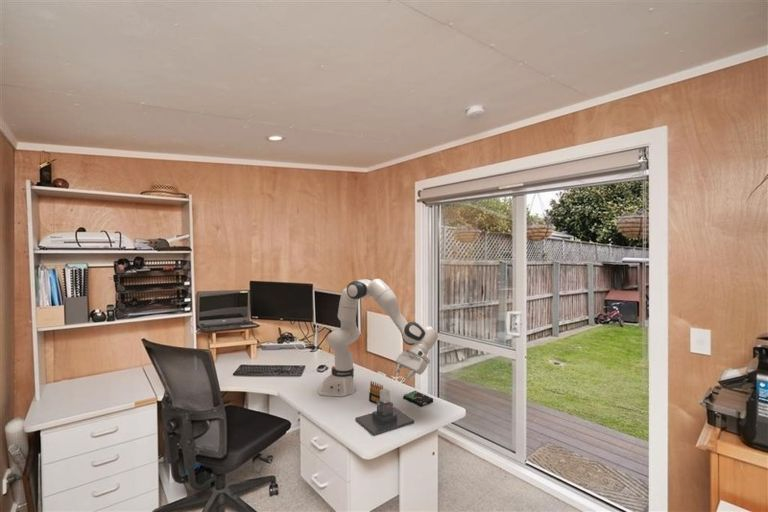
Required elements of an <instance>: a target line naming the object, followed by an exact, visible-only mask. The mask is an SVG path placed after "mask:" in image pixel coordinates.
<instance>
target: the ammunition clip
mask: <svg viewBox="0 0 768 512" xmlns="http://www.w3.org/2000/svg"><path fill="white" fill-rule="evenodd" d="M382 389H384V384H382V385H381V383H379V382H376V381H372V380H370V384H369V393H368V401H369V403H372V404H375V405H377V401H380V390H382Z"/></svg>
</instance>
